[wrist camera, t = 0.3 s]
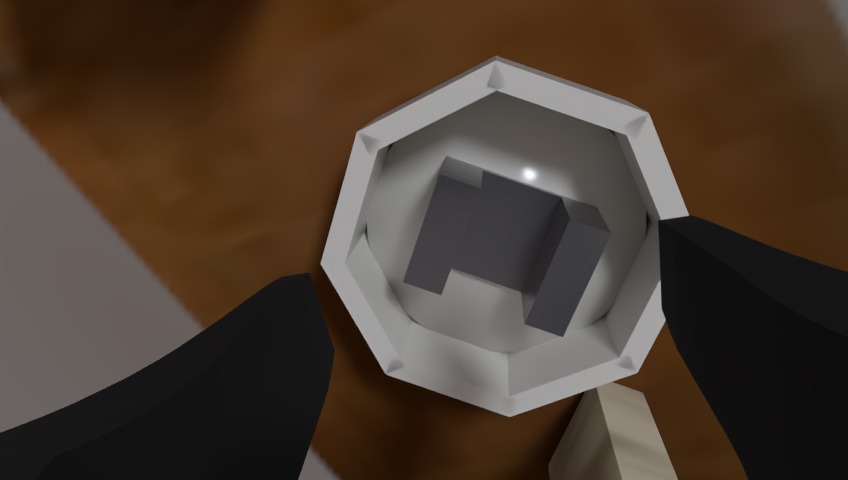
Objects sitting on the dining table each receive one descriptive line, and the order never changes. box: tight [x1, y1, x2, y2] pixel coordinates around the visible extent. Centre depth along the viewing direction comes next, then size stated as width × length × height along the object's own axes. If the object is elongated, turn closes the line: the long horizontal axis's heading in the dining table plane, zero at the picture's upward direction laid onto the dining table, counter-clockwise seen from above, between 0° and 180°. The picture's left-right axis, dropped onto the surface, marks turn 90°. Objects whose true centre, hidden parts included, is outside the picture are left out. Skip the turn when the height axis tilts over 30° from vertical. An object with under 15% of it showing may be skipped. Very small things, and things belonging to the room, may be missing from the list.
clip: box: [403, 156, 612, 337], centre depth 21 cm, size 4×6×3 cm
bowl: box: [321, 56, 689, 417], centre depth 21 cm, size 12×12×4 cm
